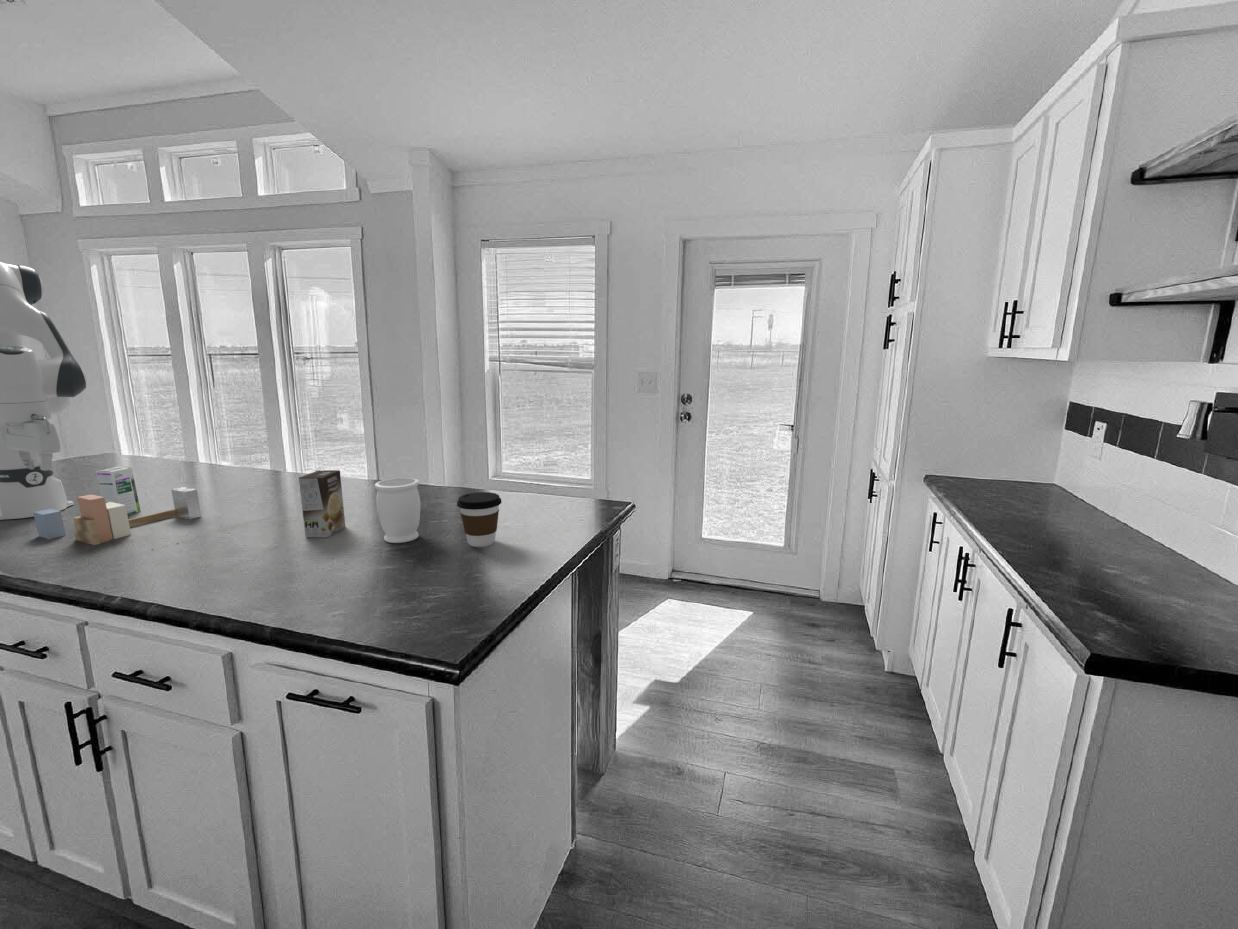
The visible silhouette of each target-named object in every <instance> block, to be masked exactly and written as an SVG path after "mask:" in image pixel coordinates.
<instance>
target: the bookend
mask: <svg viewBox="0 0 1238 929" xmlns="http://www.w3.org/2000/svg"><path fill="white" fill-rule="evenodd" d="M171 495H172V499H173V500H172V501H173V506H174V509H175V513H176V516H175V517H176V518H180V519H186V520H193V519H197V518H201V517H202V515H201V514H202V513H201V507H200V502H199V494H198V490H197V489H196V488H189V487H186V486H185V487H184V486H181V487H177V488H172V489H171Z"/></svg>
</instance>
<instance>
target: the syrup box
mask: <svg viewBox="0 0 1238 929" xmlns="http://www.w3.org/2000/svg"><path fill="white" fill-rule="evenodd" d="M133 471H134V470H133V467H130V466H115V467H111V468H106V469H102V470H101V469H100V470H96V472H95V475H96V480H97V483H98V487H99V491H100V492H99V493H100V496H101V497H104V498H105V503H108V502H114V503H118V504H123V505H126V511H127V516H130V515H134V514H137V513H141V506H140V502H139V501H140V500H139V496H138V491H137V488H136V487H137V486H136V483H135V476H134V472H133Z"/></svg>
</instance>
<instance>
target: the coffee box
mask: <svg viewBox="0 0 1238 929" xmlns="http://www.w3.org/2000/svg"><path fill="white" fill-rule="evenodd" d="M298 484H299V491H300V500H301V502H300V503H301V509H302V517H303V518H302V519H303V527H304V536H305V538H325V539H326V538H329V537H332V536H333V535H335V534H336V533H338V532H339V531H341V530H342V529H345V528H346V518H345V507H344V498H343V489H342V488H343V486H342V477H341V470H339V469H337V470H334V469H333V470H329V469H327V470H326V469H324V470H316V471H314V472H310V473H308V474H305V475H302V476H300V477H298Z"/></svg>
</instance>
